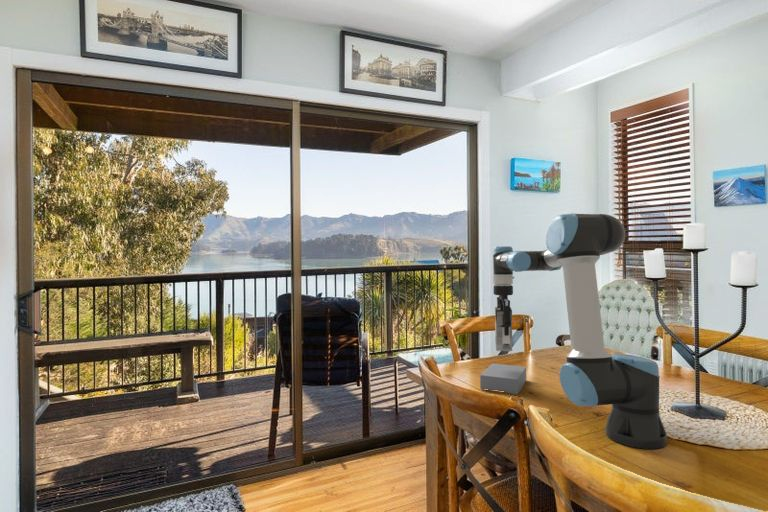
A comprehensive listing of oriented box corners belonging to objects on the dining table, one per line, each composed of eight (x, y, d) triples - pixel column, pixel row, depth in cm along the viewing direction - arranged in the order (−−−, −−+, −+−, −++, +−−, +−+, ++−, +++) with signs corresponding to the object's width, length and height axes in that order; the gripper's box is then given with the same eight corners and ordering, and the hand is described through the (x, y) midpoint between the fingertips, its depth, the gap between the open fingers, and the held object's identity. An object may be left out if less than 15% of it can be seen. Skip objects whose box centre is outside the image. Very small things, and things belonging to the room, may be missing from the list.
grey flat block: (517, 395, 167) (517, 379, 167) (480, 390, 173) (480, 375, 173) (526, 381, 185) (526, 366, 185) (492, 377, 191) (492, 363, 191)
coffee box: (494, 345, 184) (494, 306, 184) (511, 346, 183) (510, 307, 183) (495, 350, 175) (495, 309, 175) (512, 351, 174) (512, 310, 174)
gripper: (519, 287, 167) (519, 346, 168) (507, 282, 189) (507, 335, 190) (498, 287, 168) (499, 346, 168) (489, 283, 190) (489, 335, 190)
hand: (503, 340), depth 179 cm, fingers closed on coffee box, 9 cm apart
